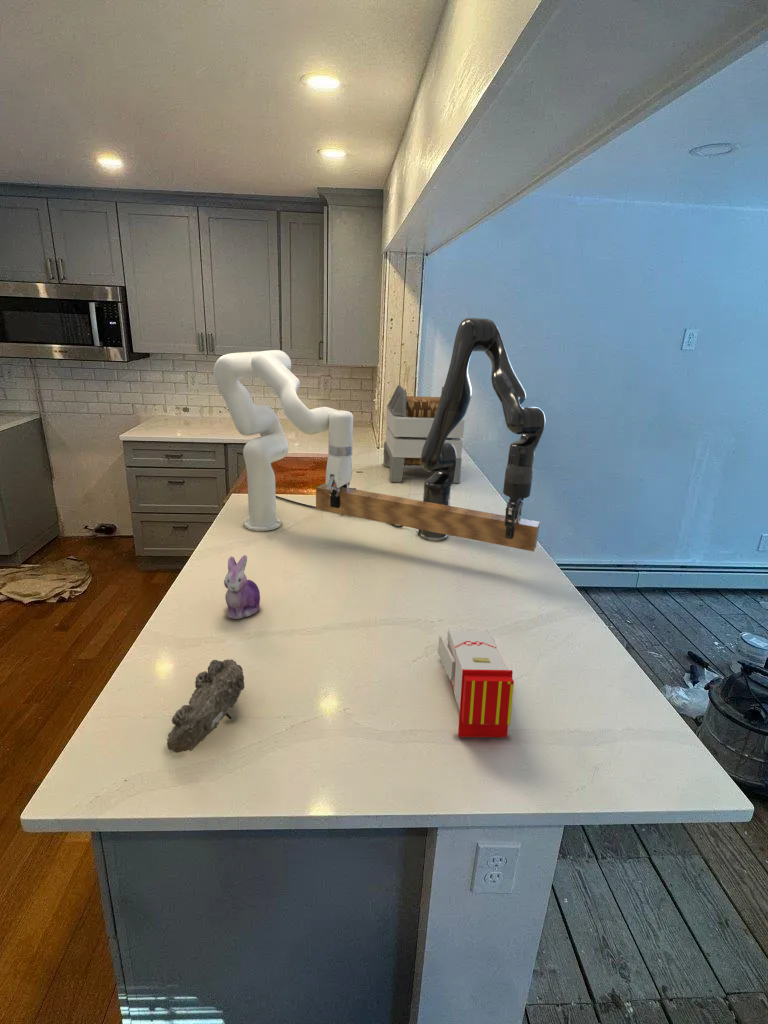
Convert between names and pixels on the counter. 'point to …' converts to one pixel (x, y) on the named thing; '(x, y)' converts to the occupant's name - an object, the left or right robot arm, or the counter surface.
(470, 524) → the post
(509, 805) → the counter surface
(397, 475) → the grey storage crate
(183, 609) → the counter surface
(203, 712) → the fossil
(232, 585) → the figurine
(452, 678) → the toy
